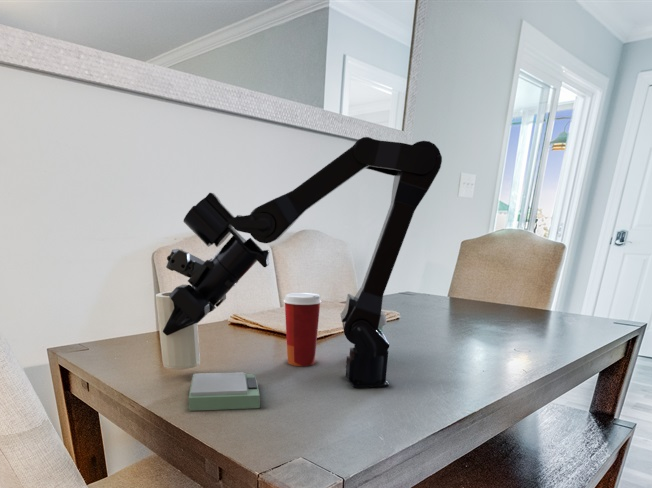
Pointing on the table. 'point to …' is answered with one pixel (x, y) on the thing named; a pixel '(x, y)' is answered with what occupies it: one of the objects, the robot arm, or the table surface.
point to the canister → (176, 338)
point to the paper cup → (301, 327)
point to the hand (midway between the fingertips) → (171, 329)
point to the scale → (223, 391)
